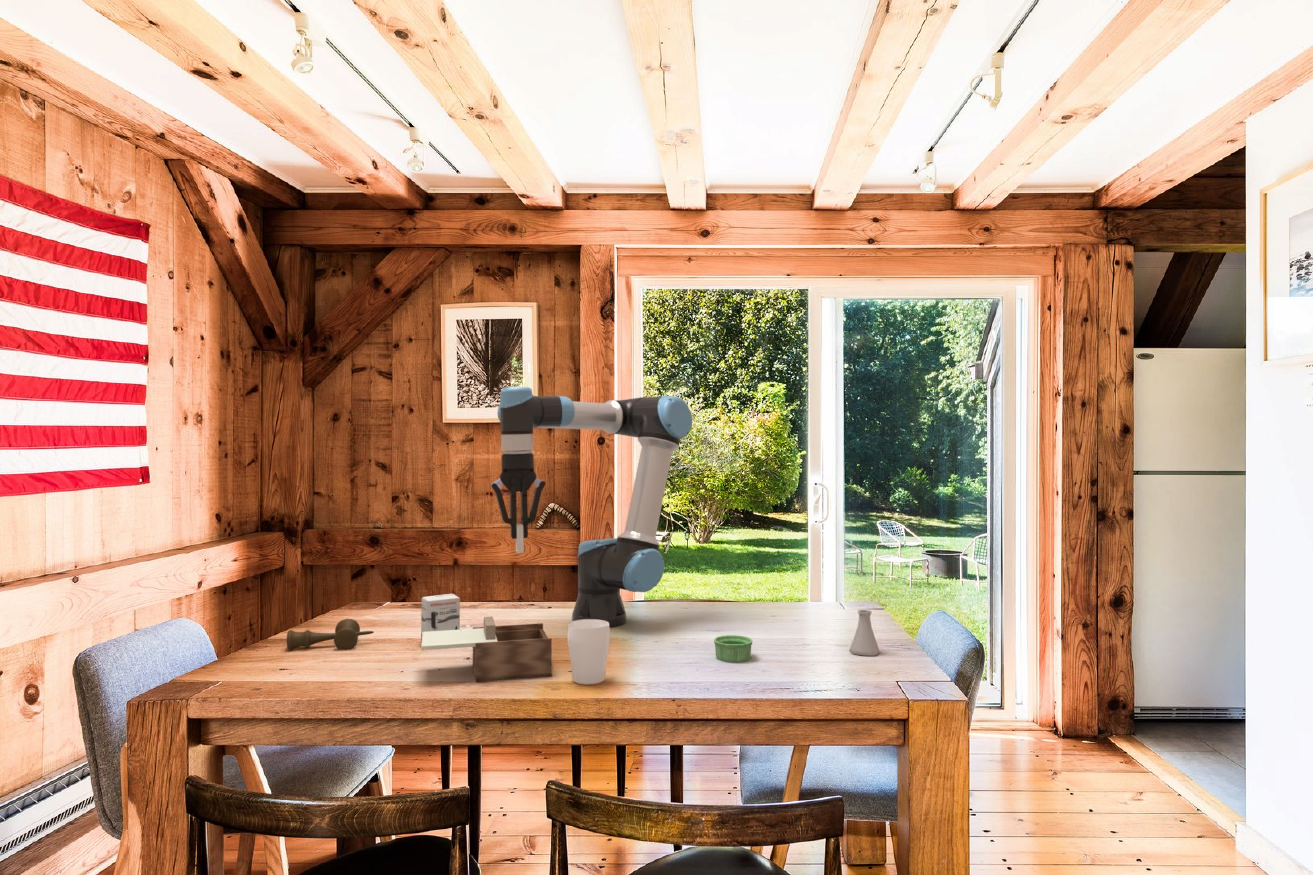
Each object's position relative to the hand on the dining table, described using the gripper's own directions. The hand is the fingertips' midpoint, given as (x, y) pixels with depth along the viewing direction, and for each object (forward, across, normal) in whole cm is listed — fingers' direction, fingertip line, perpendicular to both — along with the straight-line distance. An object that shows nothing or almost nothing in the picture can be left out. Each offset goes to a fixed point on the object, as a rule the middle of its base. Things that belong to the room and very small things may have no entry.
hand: (519, 552), depth 192 cm
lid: (+17, +15, +11) cm, 25 cm away
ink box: (+25, +18, -17) cm, 35 cm away
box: (+24, +4, +11) cm, 27 cm away
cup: (+25, -11, +24) cm, 36 cm away
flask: (+26, -78, +23) cm, 86 cm away
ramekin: (+26, -47, +17) cm, 56 cm away
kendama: (+24, +44, -23) cm, 55 cm away
